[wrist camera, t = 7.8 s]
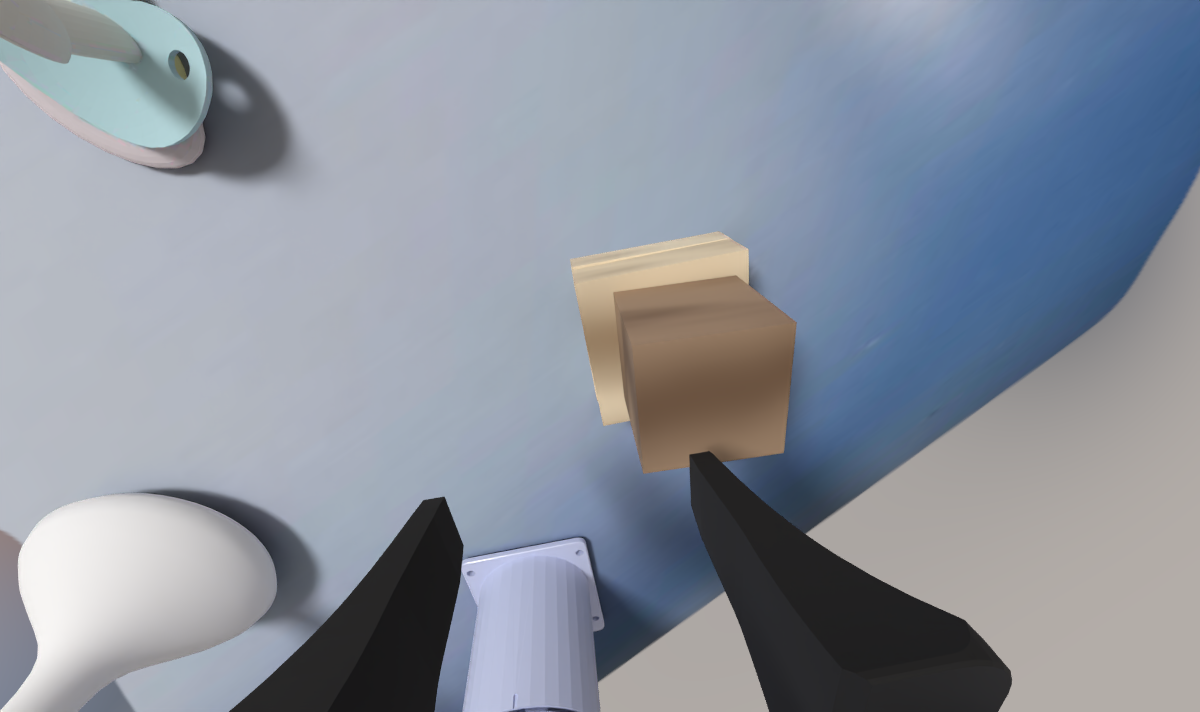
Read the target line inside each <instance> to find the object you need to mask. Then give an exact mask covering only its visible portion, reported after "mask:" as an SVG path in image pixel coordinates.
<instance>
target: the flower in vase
mask: <svg viewBox="0 0 1200 712" xmlns="http://www.w3.org/2000/svg"><path fill="white" fill-rule="evenodd" d="M18 576H19V588H20V593H21V596H22V599H23V602H24V605H25V608H26V611H27V614H28V617H29V619H30V621H31V624H32V626H33V629H34V632H35V636H36V639H37V643H38V658H37V660H36V663H35V665H34V667H33V670H32V672H31V673H30V675H29V676H28V678H27V679H26V680H25V682H24V683H23V685H22V686H21V687H20V689H19V690H18V691H17V693H16V694H15V695H14V696H13V697H12V698H11V699H10V700H9V702H8V703H7V704H6V705H5V706H4V707H3V708H2V709H1V711H0V712H78V711H79V710H80V709H81V708H82V707H83V706H84V705H85V704H86V703H87V702H88V701H89V700H90V699H91V698H92V697H93V696H94V695H95V694H96V693H97V692H98V691H99V690H101V689H102V688H104V687H105V686H106V685H108V684H109V683H111V682H112V681H114V680H115V679H117V678H119V677H122V676H124V675H126V674H128V673H130V672H133V671H136V670H139V669H142V668H145V667H149V666H152V665H156V664H159V663H163V662H167V661H171V660H174V659H178V658H181V657H185V656H188V655H191V654H195V653H198V652H201V651H204V650H206V649H209V648H212V647H214V646H216V645H219V644H221V643H223V642H226V641H228V640H230V639H232V638H234V637H236V636H238V635H240V634H242V633H243V632H244V631H246V630H247V629H249V628H250V627H251V626H252V625H253V624H254V623H255V622H257V621H258V620H259V619H260V618H261V617H262V616H263V615H264V614H265V613H266V612H267V611H268V610H269V608H270V607H271V606H272V604H273V602H274V599H275V597H276V592H277V578H276V571H275V567H274V563H273V560H272V558H271V556H270V554H269V553H268V551H267V550H266V548H265V547H264V545H263V544H262V543H261V542H260V541H259V540H258V538H257V537H256V536H254V535H253V534H252V533H251V532H250V531H249V530H248V529H246V528H245V527H243V526H242V525H240V524H239V523H238V522H236V521H234V520H233V519H231V518H229V517H227V516H226V515H224V514H222V513H220V512H217V511H215V510H213V509H211V508H208V507H206V506H203V505H200V504H197V503H194V502H191V501H187V500H183V499H180V498H175V497H170V496H165V495H157V494H148V493H121V494H111V495H104V496H99V497H94V498H90V499H85V500H81V501H77V502H74V503H70V504H68V505H65V506H63V507H60V508H58V509H56V510H54V511H53V512H51V513H49V514H48V515H46V516H45V517H44V518H43V519H42V520H41V521H39V522H38V523H37V525H36V526H35V527H34V529H33V530H32V532H31V533H30V535H29V536H28V538H27V540H26V541H25V543H24V545H23V546H22V549H21V551H20V554H19V559H18Z"/></svg>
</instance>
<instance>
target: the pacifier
mask: <svg viewBox="0 0 1200 712" xmlns="http://www.w3.org/2000/svg"><path fill="white" fill-rule="evenodd" d="M179 52H182V53H183V54H184V55H185V56H186V57H187V59H188V61H189V65H190V72H189V76H188V78H187V76H186V73H185V69H184V67H183V65H182V63H181V61H180V59H179V57H178V56H177V53H179ZM0 65H1V67H2V68H3V70H4V71H5V73H6V74H7V75H8V76H9V77H10V78H11V79H12V81H13V82H14V83H15V84H16V85H17V86H18V87H19V88H20V90H21V91H22V92H23V93H24V94H25V95H26V96H27V97H28V98H29V99H30V100H31V101H33V102H34V103H35V104H36V105H37V106H38V107H39V108H41V109H42V110H43V111H44V112H45V113H46V114H47V115H49V116H50V117H51V118H52V119H54V120H55V121H57V122H58V123H59V124H61V125H62V126H64V127H65V128H67V129H68V130H69V131H71V132H72V133H74V134H75V135H77V136H78V137H80V138H82V139H83V140H85V141H87V142H89V143H91V144H93V145H94V146H96V147H98V148H100V149H102V150H104V151H105V152H108V153H110V154H113V155H115V156H118V157H121V158H123V159H126V160H128V161H131V162H133V163H137V164H141V165H146V166H150V167H155V168H181V167H184V166H186V165H189V164H192V163H194V162H195V160H196V159H197V158H198V157H199V156H200V155H201V154H202V152H203V147H204V142H205V133H204V128H203V123H202V122H203V121H204V119H205V117H206V115H207V112H208V109H209V106H210V102H211V98H212V91H213V86H212V70H211V66H210V62H209V59H208V56H207V54H206V51H205V49H204V47H203V46H202V44H201V42H200V41H199V39H198V38H197V36H196V35H195V34H194V33H193V31H192V30H191V29H190V28H189V27H188V26H186V25H185V24H184V23H183V22H182V21H180V20H179V19H178V18H176V17H175V16H173V15H171V14H170V13H168V12H166V11H164V10H162V9H161V8H159V7H157V6H154V5H151V4H148V3H145V2H142V1H132V0H0Z"/></svg>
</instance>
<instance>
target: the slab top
mask: <svg viewBox="0 0 1200 712" xmlns="http://www.w3.org/2000/svg"><path fill="white" fill-rule="evenodd" d="M572 274H573V280H574V286H575V291H576V295H577V300H578V305H579V310H580V315H581V320H582V324H583V329H584V334H585V339H586V344H587V349H588V353H589V358H590V363H591V368H592V373H593V378H594V382H595V387H596V392H597V397H598V402H599V407H600V411H601V416H602V421H603V426H606V425H611V424H616V423H621V422H625V421H630V418H629V414H628V410H627V406H626V402H625V398H624V390H623V380H622V371H621V361H620V352H619V342H618V333H617V323H616V314H615V304H614V295H613V292H619V291H626V290H633V289H641V288H648V287H655V286H662V285H670V284H677V283H684V282H691V281H699V280H706V279H713V278H721V277H728V276H735V275H737V276H738V277H739V278H740V279H742V280H743V281H744V282H745V283H747V284H748V285H749V256H748V249H747V248H745V247H744V246H742V245H740V244H738V243H737V242H735V241H733V240H732V239H725V240H720V241H715V242H710V243H705V244H699V245H694V246H689V247H684V248H679V249H674V250H669V251H664V252H659V253H654V254H649V255H644V256H639V257H634V258H629V259H624V260H619V261H614V262H608V263H603V264H598V265H593V266H588V267H583V268H578V269H573V270H572Z"/></svg>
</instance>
